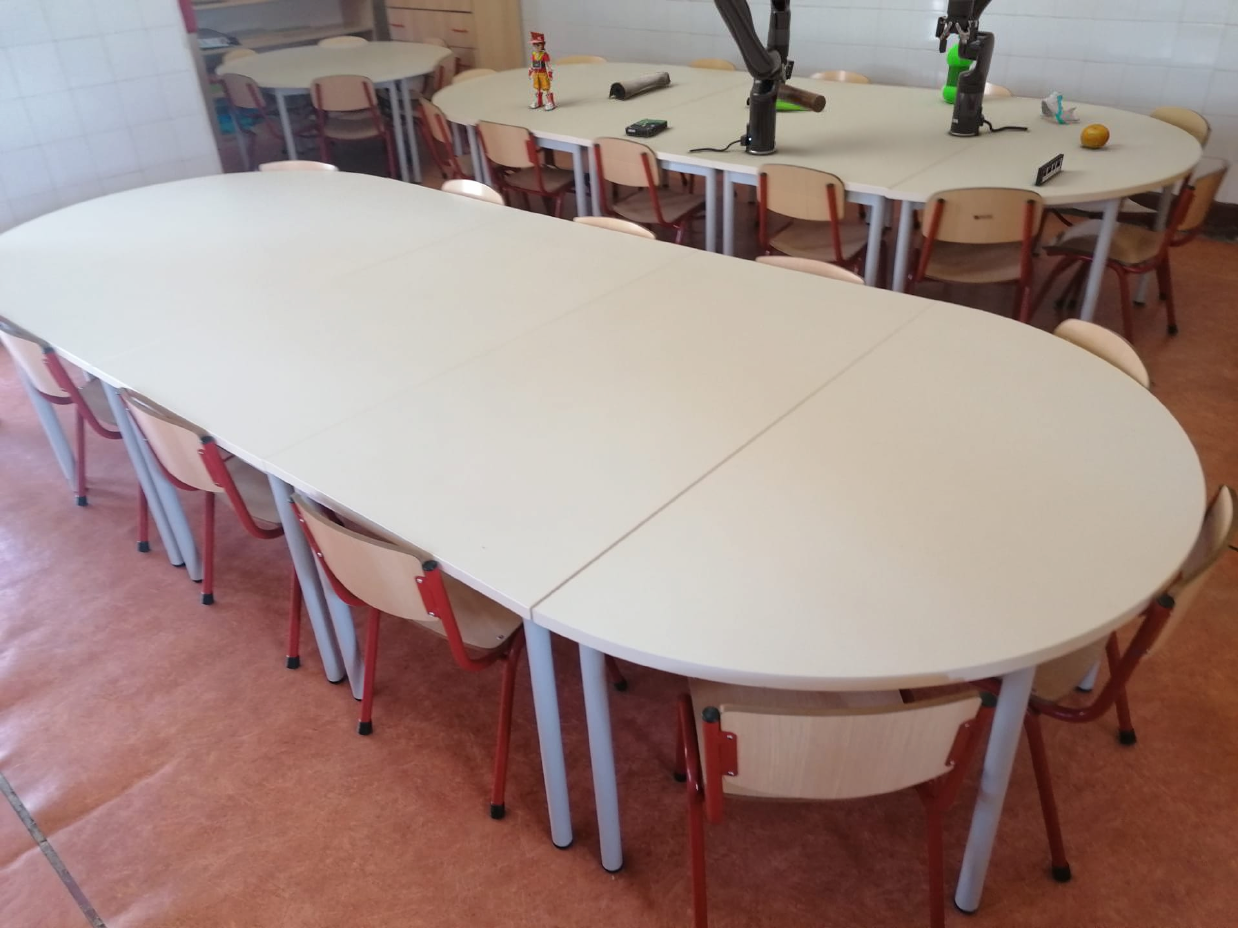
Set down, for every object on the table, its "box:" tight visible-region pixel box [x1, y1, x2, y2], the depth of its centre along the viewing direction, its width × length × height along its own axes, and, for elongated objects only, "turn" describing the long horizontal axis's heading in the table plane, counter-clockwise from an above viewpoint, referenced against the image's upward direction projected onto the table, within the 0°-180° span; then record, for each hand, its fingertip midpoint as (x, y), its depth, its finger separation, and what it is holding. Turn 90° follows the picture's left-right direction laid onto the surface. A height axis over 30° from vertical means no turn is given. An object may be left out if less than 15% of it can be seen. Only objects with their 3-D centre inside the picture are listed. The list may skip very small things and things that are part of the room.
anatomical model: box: [1040, 91, 1081, 124], centre depth 325 cm, size 15×10×10 cm
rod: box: [777, 83, 827, 114], centre depth 306 cm, size 28×5×5 cm, turn 29°
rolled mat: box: [608, 71, 672, 101], centre depth 395 cm, size 30×9×10 cm
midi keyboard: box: [1035, 153, 1065, 186], centre depth 273 cm, size 18×1×5 cm, turn 138°
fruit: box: [1079, 123, 1111, 149], centre depth 296 cm, size 8×8×8 cm
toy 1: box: [527, 31, 556, 111], centre depth 374 cm, size 12×9×30 cm
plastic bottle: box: [942, 34, 974, 104], centre depth 348 cm, size 10×10×25 cm
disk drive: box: [624, 118, 668, 137], centre depth 342 cm, size 10×3×15 cm
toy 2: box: [745, 96, 809, 111], centre depth 360 cm, size 28×5×30 cm
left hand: (773, 94), depth 314 cm, fingers closed on rod, 5 cm apart
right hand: (953, 54), depth 285 cm, fingers open, 8 cm apart
